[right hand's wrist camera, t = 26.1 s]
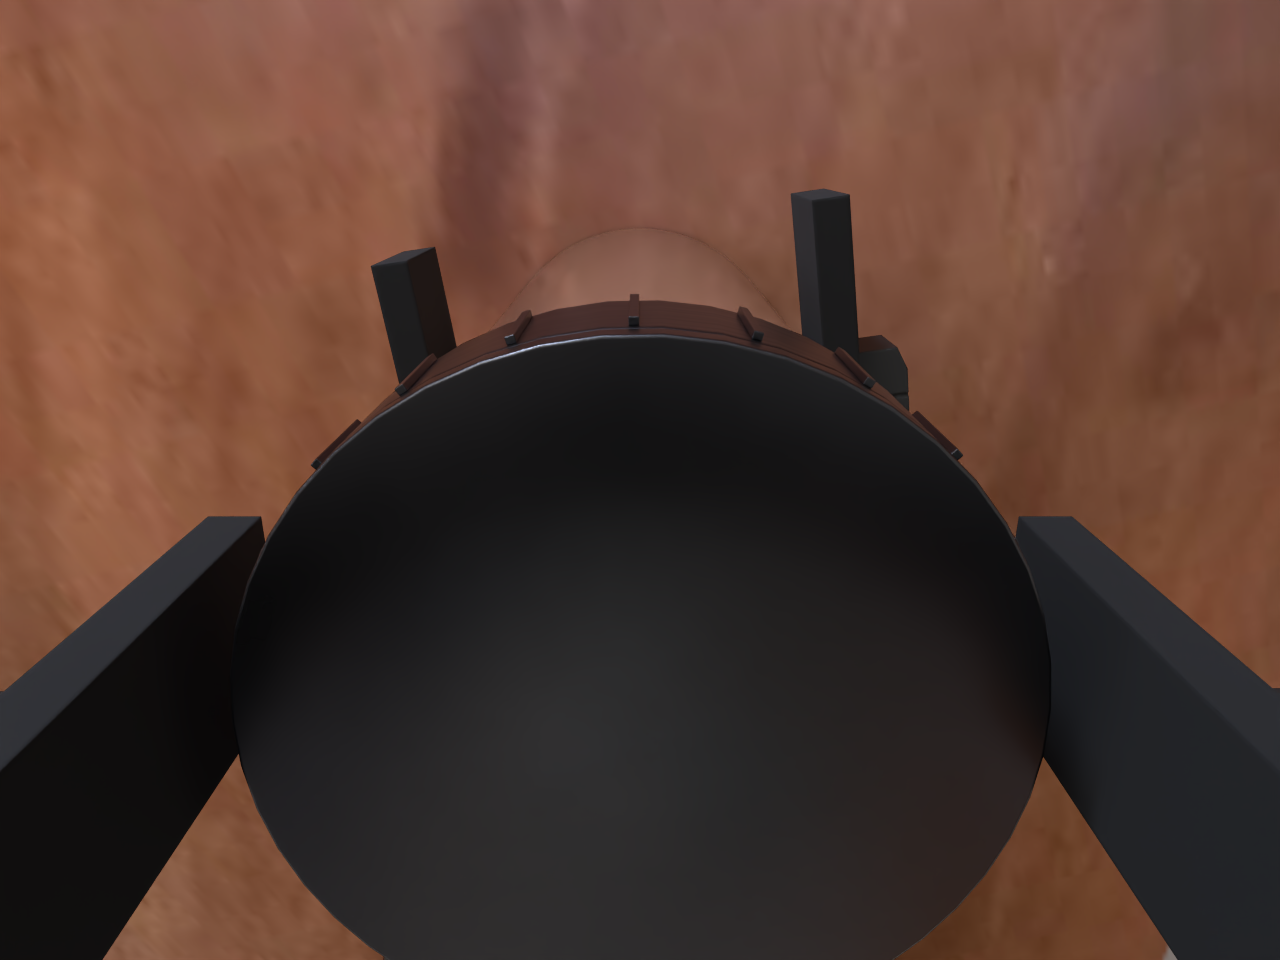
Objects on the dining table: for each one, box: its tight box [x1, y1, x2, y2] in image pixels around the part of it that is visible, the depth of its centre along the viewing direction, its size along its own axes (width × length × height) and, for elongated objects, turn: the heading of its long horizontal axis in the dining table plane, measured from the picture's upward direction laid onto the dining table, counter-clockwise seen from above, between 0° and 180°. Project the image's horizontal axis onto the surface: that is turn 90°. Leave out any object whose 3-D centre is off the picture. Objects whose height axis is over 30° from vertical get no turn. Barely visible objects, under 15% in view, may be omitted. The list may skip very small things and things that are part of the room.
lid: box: [230, 294, 1051, 960], centre depth 11 cm, size 9×9×2 cm
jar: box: [488, 228, 792, 332], centre depth 19 cm, size 8×8×17 cm
